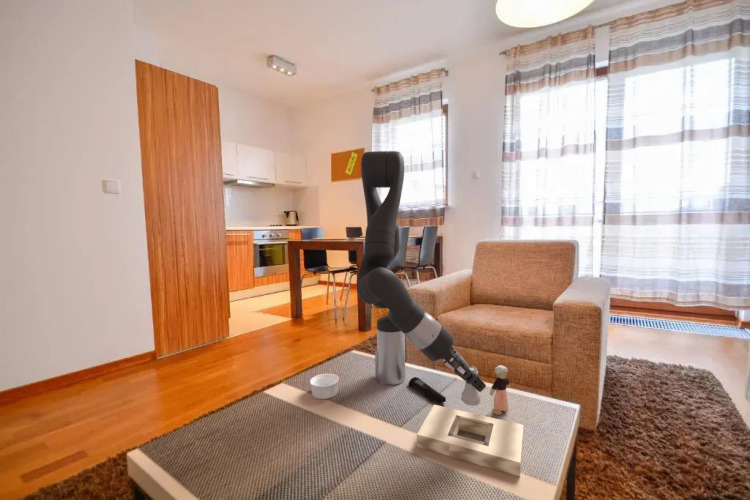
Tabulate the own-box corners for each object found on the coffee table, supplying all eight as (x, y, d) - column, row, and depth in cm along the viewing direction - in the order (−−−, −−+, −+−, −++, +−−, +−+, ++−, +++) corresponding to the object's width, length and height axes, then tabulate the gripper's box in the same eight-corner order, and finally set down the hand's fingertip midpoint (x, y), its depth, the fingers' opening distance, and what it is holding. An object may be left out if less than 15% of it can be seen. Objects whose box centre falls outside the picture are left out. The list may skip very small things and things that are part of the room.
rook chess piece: (484, 400, 78) (484, 367, 78) (475, 408, 75) (475, 374, 75) (466, 394, 82) (466, 362, 81) (457, 401, 78) (457, 368, 78)
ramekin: (304, 397, 101) (304, 383, 101) (320, 384, 109) (319, 371, 109) (330, 403, 98) (329, 388, 97) (344, 389, 106) (344, 375, 106)
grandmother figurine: (500, 418, 88) (501, 372, 87) (487, 412, 91) (487, 367, 90) (514, 407, 93) (515, 363, 92) (501, 402, 96) (502, 359, 95)
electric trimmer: (438, 409, 94) (438, 398, 94) (407, 385, 108) (407, 376, 107) (449, 405, 96) (449, 395, 96) (416, 383, 109) (416, 373, 109)
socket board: (416, 446, 78) (416, 434, 78) (434, 415, 90) (434, 404, 90) (520, 476, 68) (520, 462, 68) (523, 436, 81) (523, 424, 80)
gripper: (448, 333, 69) (504, 387, 71) (432, 315, 84) (479, 360, 85) (422, 359, 70) (479, 412, 71) (411, 336, 84) (458, 382, 85)
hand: (479, 384), depth 78 cm, fingers closed on rook chess piece, 3 cm apart
